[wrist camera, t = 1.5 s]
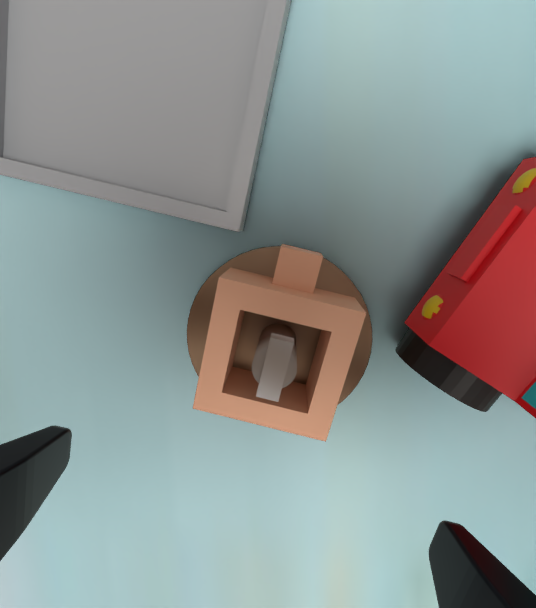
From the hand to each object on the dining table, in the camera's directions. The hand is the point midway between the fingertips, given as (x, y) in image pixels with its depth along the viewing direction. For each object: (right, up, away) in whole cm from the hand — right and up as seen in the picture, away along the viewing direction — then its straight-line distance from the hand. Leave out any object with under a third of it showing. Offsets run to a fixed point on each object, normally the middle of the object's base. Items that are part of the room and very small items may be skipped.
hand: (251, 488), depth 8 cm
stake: (+1, +3, +12) cm, 12 cm away
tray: (-6, +16, +9) cm, 19 cm away
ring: (+1, +2, +11) cm, 11 cm away
